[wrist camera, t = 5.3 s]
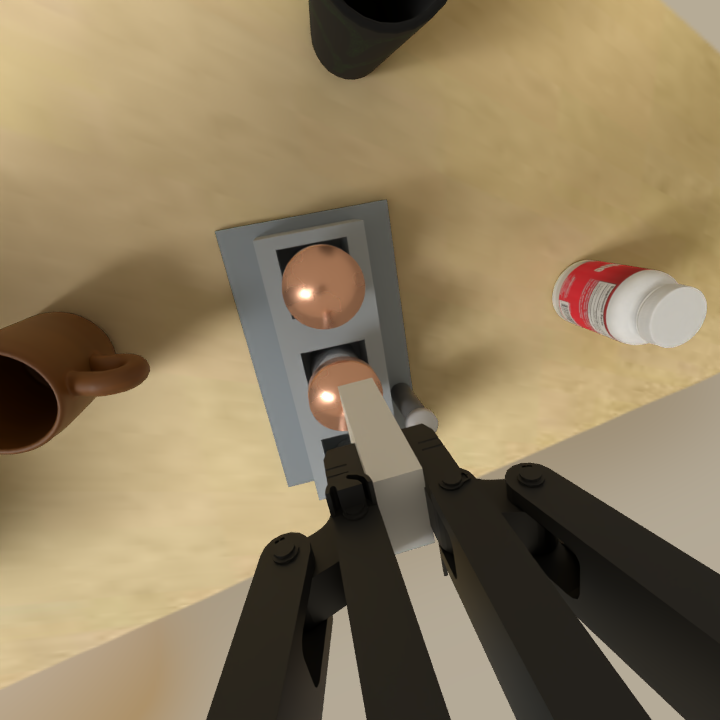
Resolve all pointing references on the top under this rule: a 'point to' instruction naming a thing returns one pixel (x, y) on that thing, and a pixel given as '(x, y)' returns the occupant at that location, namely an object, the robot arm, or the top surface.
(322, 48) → the cup
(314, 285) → the knob
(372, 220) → the mount
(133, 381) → the mug
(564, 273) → the pill bottle
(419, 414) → the pot post
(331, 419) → the knob mid
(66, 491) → the top surface
